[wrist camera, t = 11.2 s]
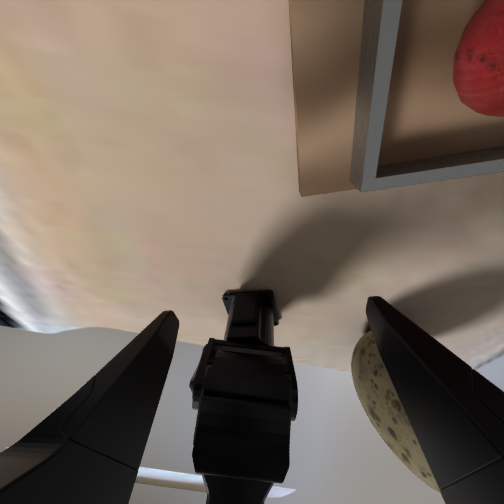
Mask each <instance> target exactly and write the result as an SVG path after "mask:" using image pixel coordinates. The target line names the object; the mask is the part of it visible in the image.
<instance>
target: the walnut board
mask: <svg viewBox="0 0 504 504" xmlns="http://www.w3.org/2000/svg"><path fill="white" fill-rule="evenodd" d="M484 1H485V0H402V6H401V13H400V20H399V26H398V33H397V39H396V46H395V53H394V59H393V66H392V73H391V79H390V86H389V92H388V99H387V106H386V112H385V119H384V126H383V132H382V139H381V145H380V152H379V159H378V165H377V166H381V165H387V164H393V163H399V162H406V161H412V160H418V159H424V158H430V157H437V156H443V155H449V154H455V153H461V152H468V151H474V150H480V149H486V148H493V147H499V146H504V117H498V116H486V115H483V114H480V113H477V112H475V111H473V110H472V109H470V108H469V107H468V106H466V105H465V104H463V103H462V102H461V101H460V98H459V96H458V93H457V91H456V88H455V86H454V83H453V63H454V54H455V52H456V49H457V47H458V44H459V41H460V39H461V36H462V34H463V31H464V29H465V26H466V25H467V24H468V22H469V21H470V19H471V18H472V17H473V15H474V14H475V13H476V11H477V10H478V9H479V7H480V6H481V5H482V4H483V2H484ZM363 11H364V0H289V15H290V33H291V51H292V69H293V88H294V106H295V124H296V142H297V160H298V179H299V192H300V195H301V197H304V196H310V195H317V194H324V193H331V192H338V191H344V190H351V189H357V188H356V187H355V186H354V185H353V184H352V183H351V182H350V169H351V157H352V145H353V133H354V121H355V108H356V96H357V84H358V72H359V60H360V47H361V35H362V23H363Z"/></svg>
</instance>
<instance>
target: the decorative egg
mask: <svg viewBox="0 0 504 504" xmlns="http://www.w3.org/2000/svg"><path fill="white" fill-rule="evenodd" d="M351 369H352V377H353V382H354V386H355V389H356V392H357V395H358V397H359V400H360V402H361V404H362V406H363V408H364V410H365V412H366V414H367V416H368V417H369V419H370V421H371V423H372V424H373V426H374V427H375V429H376V430H377V432H378V433H379V435H380V436H381V437H382V439H383V440H384V441H385V443H386V444H387V445H388V446H389V447H390V449H391V450H392V451H393V452H394V454H395V455H396V456H397V457H398V458H399V459H400V460H401V461H402V462H403V464H404V465H405V466H406V467H408V469H409V470H410V471H412V472H413V473H414V474H415V475H416V476H417V477H418V478H420V479H421V480H422V481H423V482H425V483H426V484H427V485H429V486H430V487H431V488H433V489H435V490H436V491H438V492H440V489H439V487H438V485H437V483H436V481H435V478H434V476H433V474H432V472H431V469H430V467H429V465H428V463H427V460H426V458H425V456H424V453H423V451H422V449H421V447H420V444H419V442H418V440H417V438H416V435H415V433H414V431H413V429H412V426H411V424H410V422H409V420H408V417H407V415H406V413H405V411H404V408H403V406H402V404H401V402H400V399H399V397H398V395H397V393H396V390H395V388H394V386H393V383H392V381H391V379H390V377H389V374H388V372H387V370H386V368H385V365H384V363H383V361H382V359H381V356H380V354H379V352H378V349H377V346H376V343H375V340H374V337H373V334H372V330H371V331H369V332H367V333H366V334H365V335H364V336H362V337H361V339H360V340H359V341H358V343H357V344H356V346H355V349H354V352H353V355H352V362H351ZM440 493H441V492H440Z"/></svg>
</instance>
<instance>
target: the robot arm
mask: <svg viewBox="0 0 504 504" xmlns="http://www.w3.org/2000/svg"><path fill="white" fill-rule="evenodd" d="M269 294H270V295H269ZM222 299H223V302H224V305H225V307H226V310H227V313H228V315H229V316H228V321H227V327H226V332H225V337H224V340H217V339H215V338H210V339H209V341H208V344H206V346H204V348H203V352H202V356H201V359H200V362H199V364H198V366H197V368H196V370H195V373H194V375H193V377H192V379H191V381H190V385H189V386H190V389H191V391H192V393H193V395H192V398H193V402H192V408H193V409H196V410H198V415H197V421H196V427H195V433H194V441H193V445H194V447H193V452H192V457H193V463H194V468H195V472H196V473H198V474H202V477H203V481H204V484H205V487H206V491H207V500H206V504H264V501H265V499H266V497H267V495H268V493H269V491H270V489H271V487H272V486H273V484H274V483H283V481H284V479H285V476H286V474H287V471H288V469H289V445H290V426H291V421H294V420H295V419H296V415H297V408H298V388H297V380H296V376H295V371H294V365H293V361H292V356H291V351H290V347H276V346H274V326H276V325H278V324H279V321H278V315H277V309H276V303H275V298H274V293H273V291H271V290H266V291H254V292H241V293H228V294H224V295H223V297H222ZM366 315H367V318H368V321H369V324H370V327H371V330H372V334H373V337H374V340H375V343H376V346H377V349H378V352H379V354H380V356H381V359H382V361H383V363H384V365H385V368H386V370H387V372H388V374H389V377H390V379H391V381H392V383H393V386H394V388H395V390H396V393H397V395H398V397H399V399H400V402H401V404H402V406H403V408H404V411H405V413H406V415H407V417H408V420H409V422H410V424H411V426H412V429H413V431H414V433H415V435H416V438H417V440H418V442H419V444H420V447H421V449H422V451H423V453H424V456H425V458H426V460H427V463H428V465H429V467H430V469H431V472H432V474H433V476H434V478H435V481H436V483H437V485H438V487H439V489H440V492H441V494H442V497H443V499H444V501H445V504H504V392H503V391H502V390H501V389H499V388H498V387H497V386H495V385H494V384H493V383H491V382H490V381H489V380H487V379H486V378H485V377H484V376H482V375H480V374H479V373H478V372H477V371H476V370H474V369H472V368H471V367H470V366H469V365H468V364H467V363H465V362H464V361H463V360H461V359H460V358H459V357H458V356H456V355H455V354H454V353H452V352H451V351H450V350H449V349H447V348H446V347H445V346H443V345H442V344H441V343H439V342H438V341H437V340H436V339H434V338H433V337H432V336H430V335H429V334H428V333H427V332H425V331H424V330H423V329H421V328H420V327H419V326H418V325H416V324H415V323H414V322H412V321H411V320H410V319H408V318H407V317H406V316H405V315H403V314H402V313H401V312H399V311H398V310H397V309H396V308H394V307H393V306H392V305H390V304H389V303H388V302H387V301H385V300H384V299H383V298H381V297H379V296H372V297H369V298H368V301H367V306H366ZM178 329H179V320H178V318H177V317H176V315H175V313H174V312H173V311H172V310H169V311H163V312H162V313H161V314H160V315H159V316H158V317H157V318H156V319H155V320H153V321H152V322H151V323H150V324H149V325H148V326H147V327H146V328H145V329H144V330H143V331H142V332H141V333H140V334H138V335H137V336H136V337H135V338H134V339H133V340H132V341H131V342H130V343H129V344H128V345H127V346H126V347H124V349H122V350H121V351H120V352H119V353H118V354H117V355H116V356H115V357H114V358H113V359H112V360H111V361H109V362H108V363H107V364H106V365H105V366H104V367H103V368H102V369H101V370H100V371H99V372H98V373H97V374H96V375H95V376H93V377H92V378H91V379H90V380H89V381H88V382H87V383H86V384H85V385H84V386H82V387H81V388H80V389H79V390H78V391H77V392H76V393H75V394H74V395H73V396H71V397H70V398H69V399H68V400H67V401H65V402H64V403H63V404H62V405H61V406H60V407H58V408H57V409H56V410H55V411H54V412H53V413H51V414H50V415H49V416H48V417H47V418H45V419H44V420H43V421H42V422H41V423H39V424H38V425H37V426H36V427H35V428H33V429H32V430H31V431H30V432H29V433H27V434H26V435H25V436H24V437H23V438H22V439H20V440H19V441H18V442H16V443H15V444H14V445H12V446H11V447H9V448H8V449H6V450H4V451H3V452H1V453H0V504H128V502H129V499H130V496H131V493H132V490H133V486H134V483H135V480H136V476H137V473H138V469H139V466H140V463H141V459H142V456H143V453H144V450H145V446H146V443H147V440H148V436H149V433H150V430H151V426H152V423H153V420H154V417H155V414H156V410H157V407H158V404H159V400H160V397H161V394H162V390H163V387H164V384H165V381H166V377H167V374H168V371H169V367H170V364H171V361H172V357H173V353H174V349H175V344H176V339H177V334H178Z"/></svg>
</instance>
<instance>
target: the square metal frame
mask: <svg viewBox="0 0 504 504" xmlns="http://www.w3.org/2000/svg"><path fill="white" fill-rule="evenodd" d="M401 6H402V0H364V11H363V23H362V35H361V47H360V60H359V72H358V84H357V96H356V108H355V121H354V133H353V145H352V157H351V169H350V182H351V183H352V184H353V185H354V186H355V187H356V188H357V189H358V190H359V191H360V192H366V191H373V190H380V189H387V188H394V187H401V186H408V185H415V184H421V183H428V182H435V181H442V180H449V179H456V178H463V177H470V176H477V175H484V174H491V173H498V172H504V146H499V147H493V148H486V149H480V150H474V151H468V152H461V153H455V154H449V155H443V156H437V157H430V158H424V159H418V160H412V161H406V162H399V163H393V164H387V165H381V166H377V165H378V159H379V152H380V145H381V139H382V132H383V126H384V119H385V112H386V106H387V99H388V92H389V86H390V79H391V73H392V66H393V59H394V53H395V46H396V39H397V33H398V26H399V20H400V13H401Z"/></svg>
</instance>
